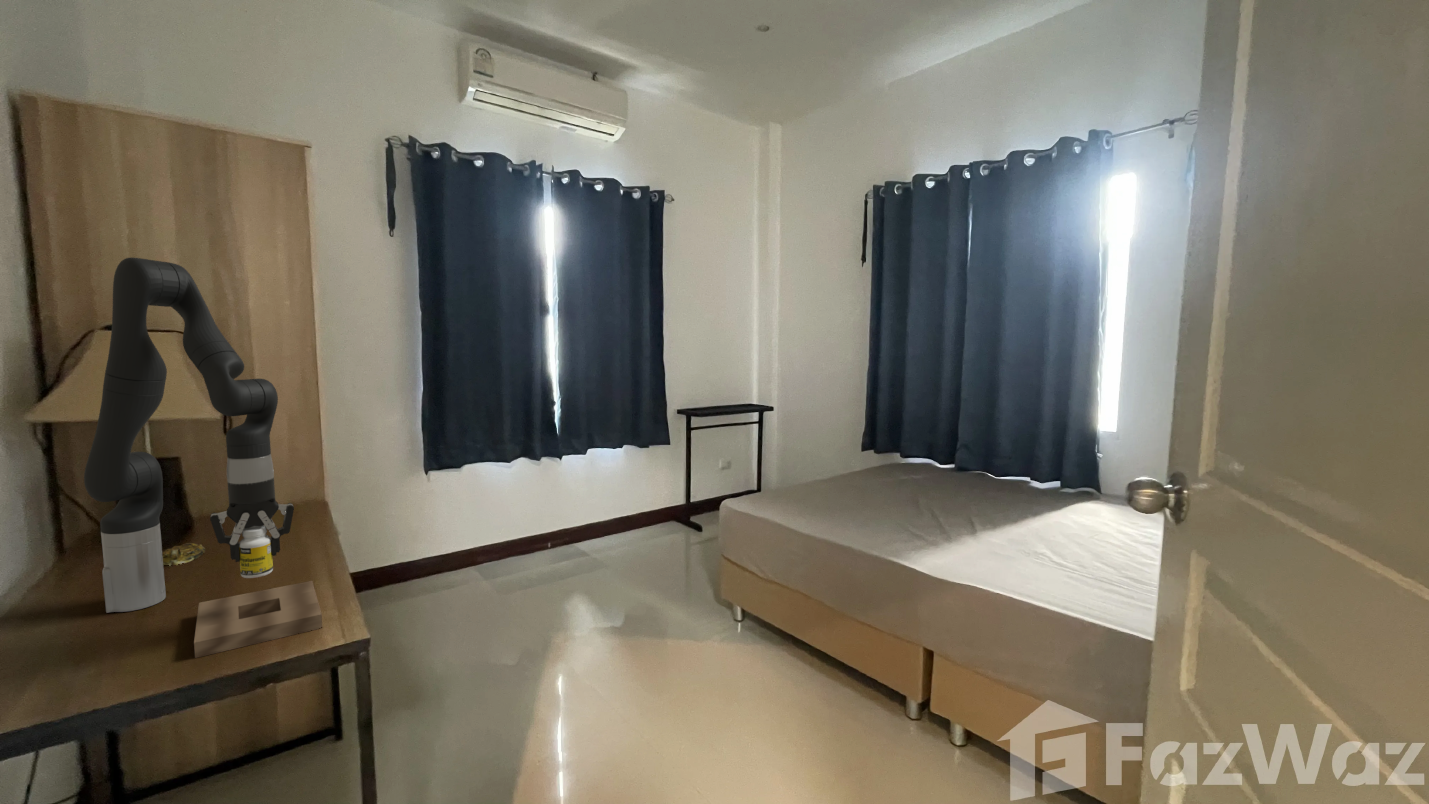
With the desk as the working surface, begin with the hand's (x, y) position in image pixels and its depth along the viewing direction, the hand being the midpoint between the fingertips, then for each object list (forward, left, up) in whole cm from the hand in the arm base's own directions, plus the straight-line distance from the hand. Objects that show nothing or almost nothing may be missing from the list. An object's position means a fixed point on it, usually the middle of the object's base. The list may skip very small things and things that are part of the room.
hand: (256, 557), depth 125 cm
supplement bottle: (0, 0, -4) cm, 4 cm away
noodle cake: (-15, +54, -15) cm, 58 cm away
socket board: (0, 0, -14) cm, 14 cm away
